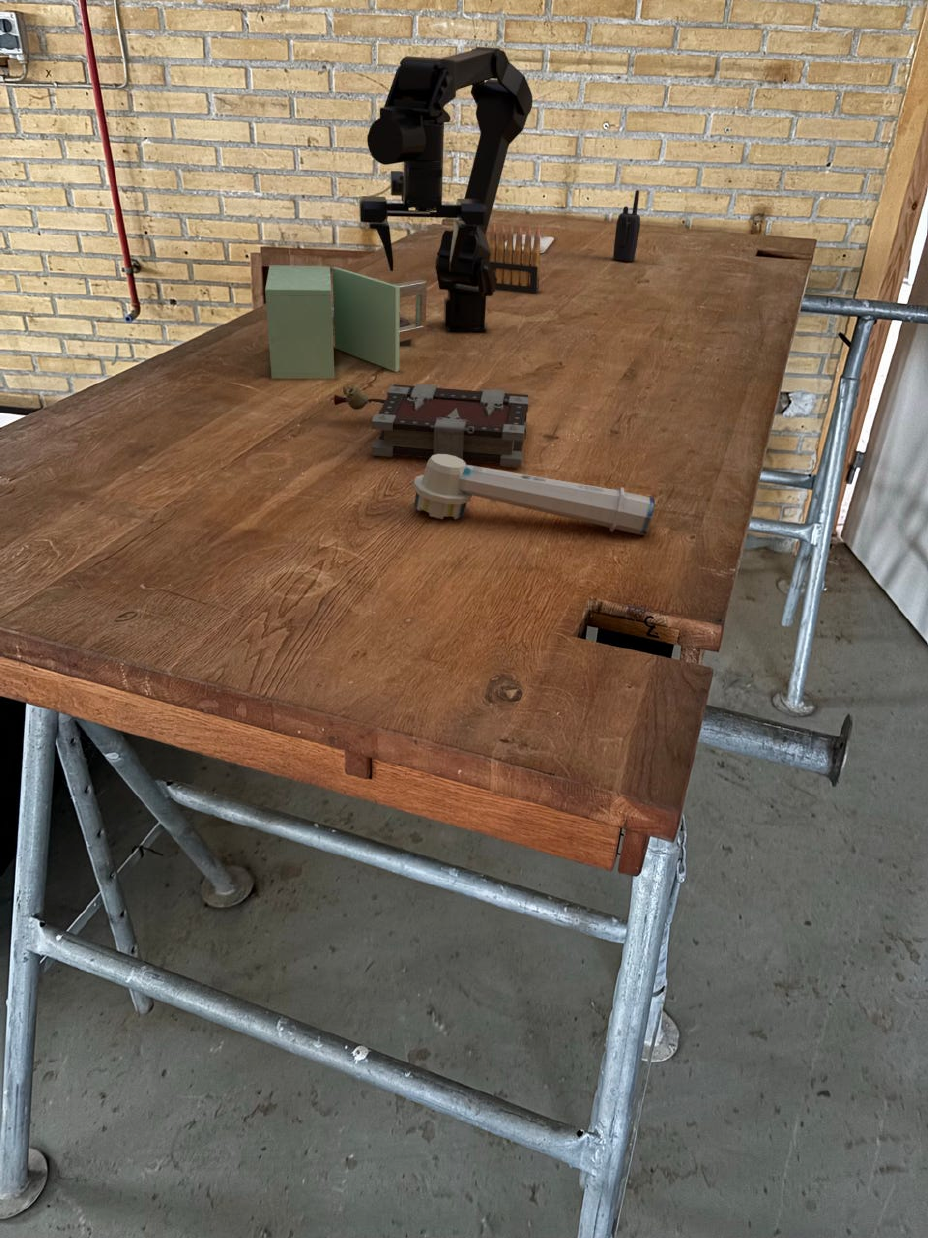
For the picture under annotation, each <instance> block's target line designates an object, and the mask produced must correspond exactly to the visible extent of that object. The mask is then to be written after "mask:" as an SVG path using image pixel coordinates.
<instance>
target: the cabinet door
mask: <svg viewBox="0 0 928 1238" xmlns="http://www.w3.org/2000/svg"><path fill="white" fill-rule="evenodd" d="M331 270H332V295H333V297H332V298H333V307H334V317H333V326H334V327H333V328H334V349H335V350H338V351H341V352H344V353H346V354H348V355H351V356H353V357H357V358H359V359H361V360H364V361H367V362H369V363H372V364H374V365H376V366H379V367H382V368H385V369H387V370H389V371H392V372H395V373H397V372H400V346H399V342H401V341H406V340H410V339H411V340H414V339H418V338H422V337H425V336H426V334H427V291H428V290H427V289H428V287H427V285H428V281H427V280H425V279H416V280H411V281H405V282H398V283H394V284H392V283H390V282H386V281H383V280H381V279H377V278H373V277H371V276H367V275H364V274H360V273H358V272H354V271H351V270H348V269H345V268H341V267H337V266H334V267H332V269H331ZM411 296H415V315H414V317H415V320H414V321H415V322H414V324H413V323H412V324H409V325H408V326H404V327H399V324H400V317H401V312H400V311H401V310H400V302H401V300H400V299H402V298H407V297H411Z"/></svg>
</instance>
